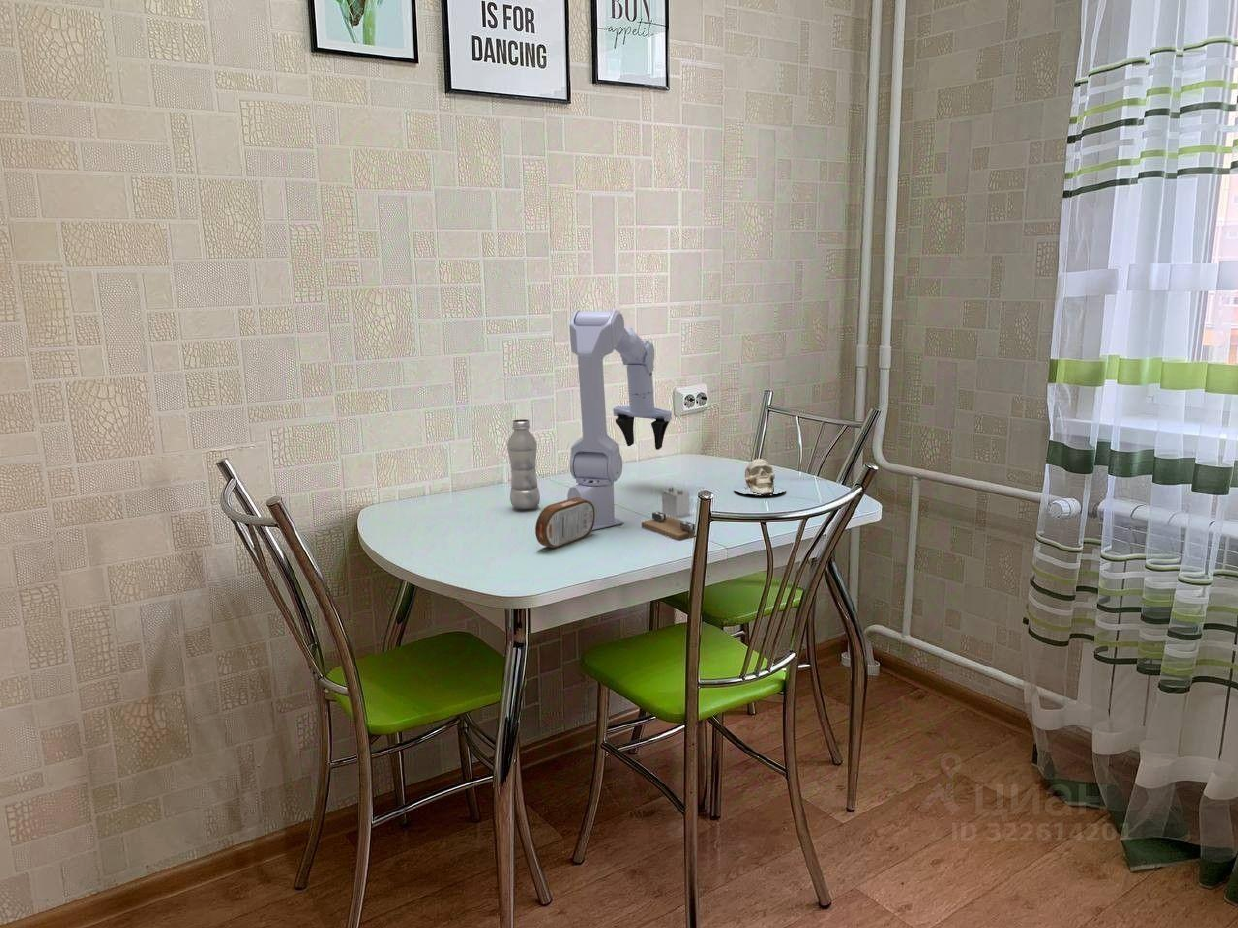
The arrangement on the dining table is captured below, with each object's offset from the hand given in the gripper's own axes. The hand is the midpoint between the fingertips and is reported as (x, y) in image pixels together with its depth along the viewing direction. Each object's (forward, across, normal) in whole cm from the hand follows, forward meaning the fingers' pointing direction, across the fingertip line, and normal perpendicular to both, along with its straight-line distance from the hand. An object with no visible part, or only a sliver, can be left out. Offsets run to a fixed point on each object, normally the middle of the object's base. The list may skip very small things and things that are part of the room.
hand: (644, 446), depth 218 cm
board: (+6, -22, +28) cm, 36 cm away
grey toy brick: (+8, -17, +17) cm, 25 cm away
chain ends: (+6, -22, +28) cm, 36 cm away
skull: (+11, -26, -8) cm, 29 cm away
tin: (+4, -6, +44) cm, 45 cm away
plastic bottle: (+7, +16, +28) cm, 33 cm away
